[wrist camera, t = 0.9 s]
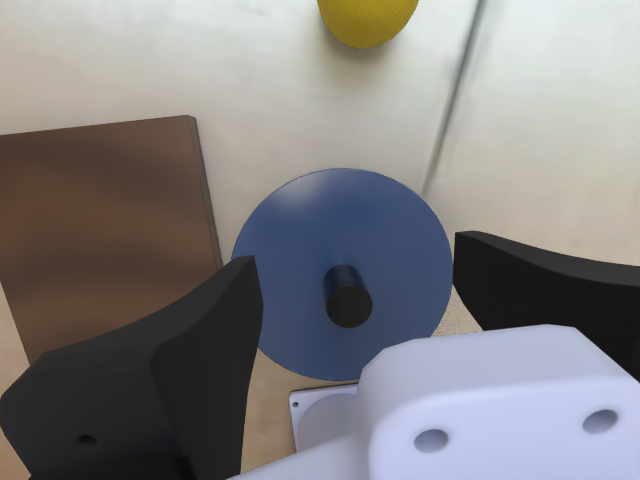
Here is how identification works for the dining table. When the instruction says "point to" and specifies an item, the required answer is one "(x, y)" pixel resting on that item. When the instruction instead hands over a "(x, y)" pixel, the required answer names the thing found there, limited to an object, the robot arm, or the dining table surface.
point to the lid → (345, 270)
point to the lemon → (366, 20)
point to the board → (101, 226)
